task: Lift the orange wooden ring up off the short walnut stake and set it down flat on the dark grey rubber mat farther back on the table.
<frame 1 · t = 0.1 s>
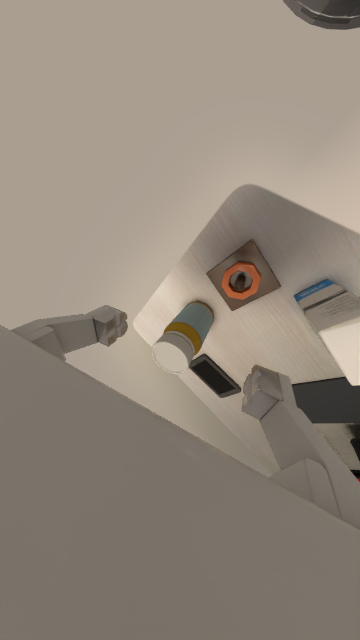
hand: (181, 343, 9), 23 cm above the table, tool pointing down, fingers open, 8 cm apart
ink box: (322, 307, 25), on the table
stake: (241, 278, 27), on the table
mat: (327, 401, 32), on the table
cell phone: (213, 375, 41), on the table
bottle: (199, 314, 35), on the table
ring: (240, 279, 27), point 1 cm above the table, touching stake
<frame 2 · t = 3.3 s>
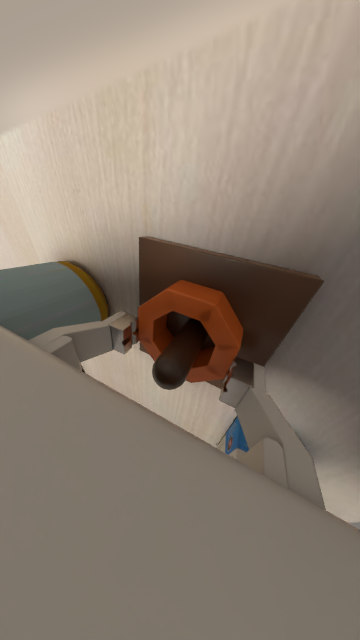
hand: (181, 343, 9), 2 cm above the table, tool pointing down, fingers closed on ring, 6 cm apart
ink box: (251, 442, 15), on the table
stake: (200, 322, 10), on the table
bottle: (86, 297, 15), on the table, touching arm
ring: (191, 327, 10), point 1 cm above the table, touching gripper, stake
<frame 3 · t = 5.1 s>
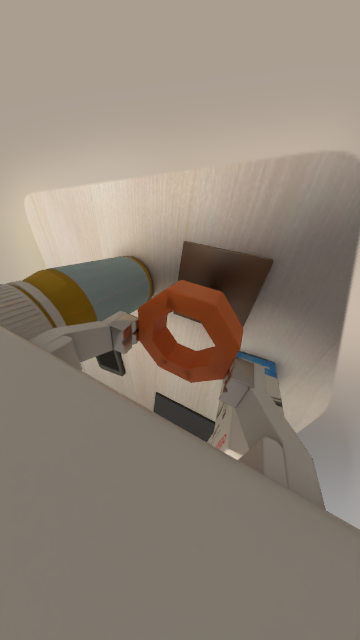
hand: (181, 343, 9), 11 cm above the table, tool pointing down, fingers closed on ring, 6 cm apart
ink box: (245, 376, 22), on the table
stake: (214, 290, 18), on the table
mat: (181, 420, 35), on the table
cell phone: (107, 347, 33), on the table
bottle: (135, 281, 22), on the table
ring: (191, 327, 10), point 10 cm above the table, touching gripper
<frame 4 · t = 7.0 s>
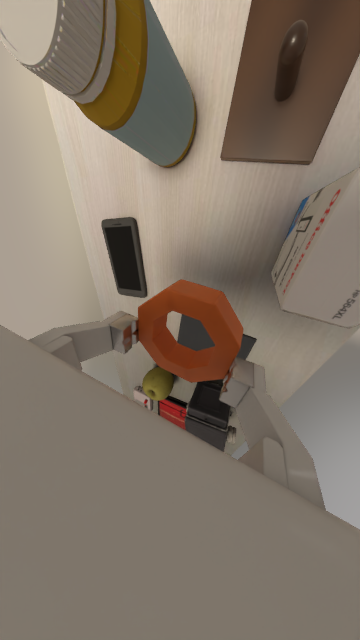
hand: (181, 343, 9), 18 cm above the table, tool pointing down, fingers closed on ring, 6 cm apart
ink box: (306, 244, 18), on the table
stake: (283, 93, 14), on the table
mat: (209, 348, 31), on the table
electronic control box: (144, 395, 54), on the table
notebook: (189, 418, 48), on the table
apple: (166, 371, 42), on the table
cell phone: (127, 261, 30), on the table
bottle: (170, 129, 18), on the table
ring: (191, 326, 10), point 17 cm above the table, touching gripper
camera: (216, 392, 37), on the table
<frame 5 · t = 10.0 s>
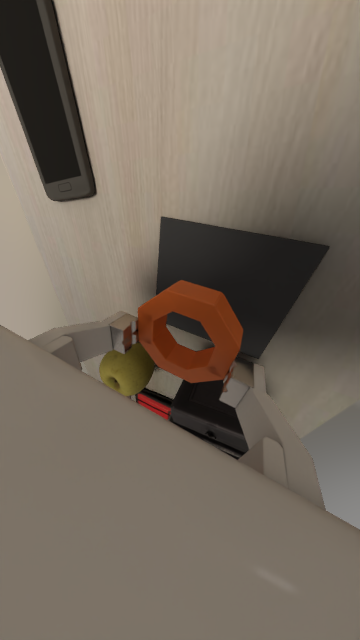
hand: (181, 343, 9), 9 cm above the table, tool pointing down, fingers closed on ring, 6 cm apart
mat: (215, 293, 16), on the table
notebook: (181, 423, 33), on the table
apple: (144, 351, 27), on the table
cell phone: (49, 107, 14), on the table
ring: (191, 327, 10), point 8 cm above the table, touching gripper
camera: (224, 383, 22), on the table
when the fingers open (2 cm above the table, at t = 12.2 s): ring stays where it is, resting on mat.
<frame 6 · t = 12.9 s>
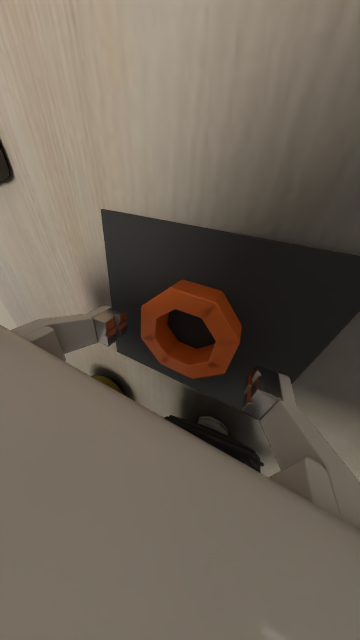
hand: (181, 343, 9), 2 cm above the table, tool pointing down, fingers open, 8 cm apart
mat: (192, 326, 11), on the table
ring: (192, 325, 10), resting on mat
camera: (212, 434, 17), on the table
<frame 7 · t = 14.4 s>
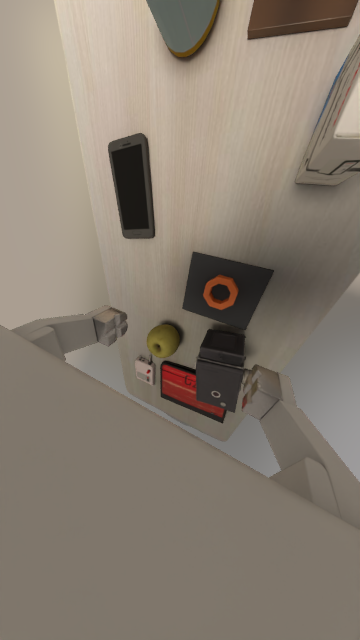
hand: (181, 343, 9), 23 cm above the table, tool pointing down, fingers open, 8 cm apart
ink box: (336, 136, 17), on the table
mat: (220, 292, 30), on the table
electronic control box: (147, 368, 51), on the table
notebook: (193, 387, 46), on the table
apple: (171, 332, 39), on the table
cell phone: (135, 195, 28), on the table
bottle: (191, 9, 17), on the table
ring: (221, 291, 29), resting on mat
camera: (225, 349, 35), on the table
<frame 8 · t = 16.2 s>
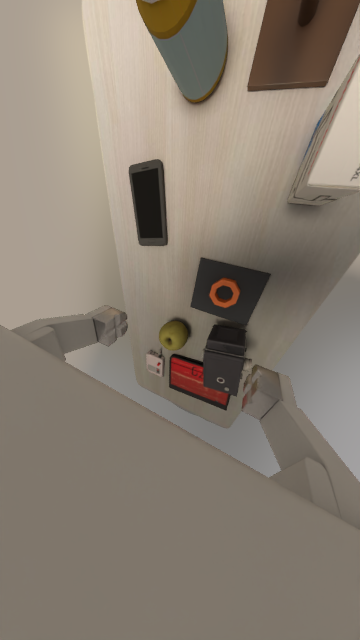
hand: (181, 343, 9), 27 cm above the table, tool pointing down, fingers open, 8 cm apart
ink box: (320, 167, 21), on the table
stake: (305, 20, 17), on the table
mat: (224, 292, 34), on the table
electronic control box: (156, 361, 56), on the table
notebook: (199, 378, 51), on the table
apple: (179, 327, 44), on the table
cell phone: (150, 208, 32), on the table
bottle: (202, 65, 21), on the table
ring: (225, 291, 33), resting on mat
camera: (228, 343, 40), on the table
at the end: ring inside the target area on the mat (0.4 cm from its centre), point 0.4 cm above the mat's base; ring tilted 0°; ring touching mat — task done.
